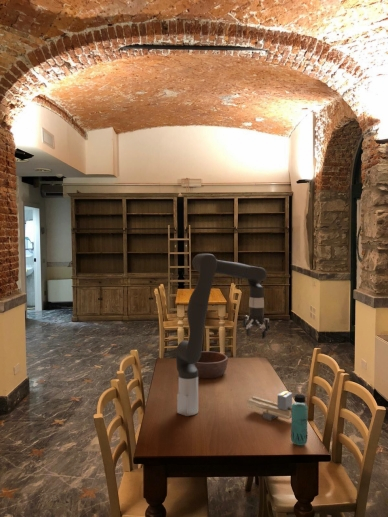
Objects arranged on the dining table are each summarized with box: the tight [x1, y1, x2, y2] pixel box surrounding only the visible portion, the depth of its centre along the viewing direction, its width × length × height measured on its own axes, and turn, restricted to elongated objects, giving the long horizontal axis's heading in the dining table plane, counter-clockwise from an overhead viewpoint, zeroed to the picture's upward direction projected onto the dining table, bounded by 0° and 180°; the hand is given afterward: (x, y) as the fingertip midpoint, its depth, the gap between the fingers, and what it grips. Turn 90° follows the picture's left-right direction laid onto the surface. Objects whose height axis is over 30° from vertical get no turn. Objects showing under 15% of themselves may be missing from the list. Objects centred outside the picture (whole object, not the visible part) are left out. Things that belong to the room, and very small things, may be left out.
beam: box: [246, 395, 292, 422], centre depth 190 cm, size 7×21×6 cm, turn 51°
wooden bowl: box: [194, 350, 229, 380], centre depth 250 cm, size 25×25×10 cm
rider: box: [277, 390, 293, 411], centre depth 186 cm, size 6×4×8 cm, turn 141°
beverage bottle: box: [290, 393, 309, 446], centre depth 165 cm, size 6×7×20 cm
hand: (256, 337), depth 215 cm, fingers open, 8 cm apart
